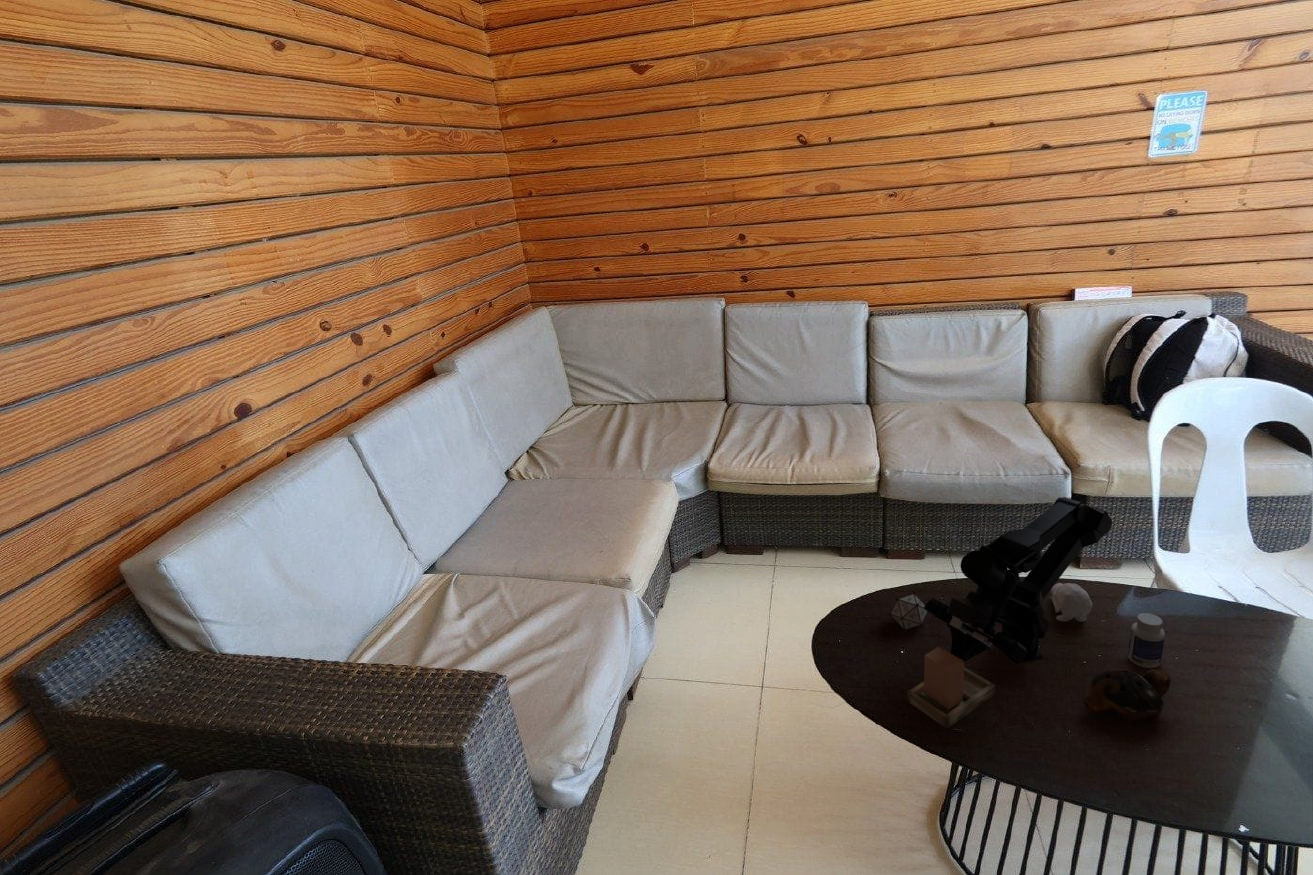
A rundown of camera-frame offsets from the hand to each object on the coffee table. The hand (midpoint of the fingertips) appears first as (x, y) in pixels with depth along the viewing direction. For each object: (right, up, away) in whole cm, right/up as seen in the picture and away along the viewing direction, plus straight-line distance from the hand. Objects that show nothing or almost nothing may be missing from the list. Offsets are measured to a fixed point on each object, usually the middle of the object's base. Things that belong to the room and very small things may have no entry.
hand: (951, 668), depth 128 cm
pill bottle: (+41, -1, +6) cm, 41 cm away
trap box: (+1, -7, +2) cm, 7 cm away
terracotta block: (-1, -6, +1) cm, 6 cm away
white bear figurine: (+35, +5, +22) cm, 42 cm away
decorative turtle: (+29, -6, -5) cm, 30 cm away
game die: (+1, +1, +24) cm, 24 cm away
